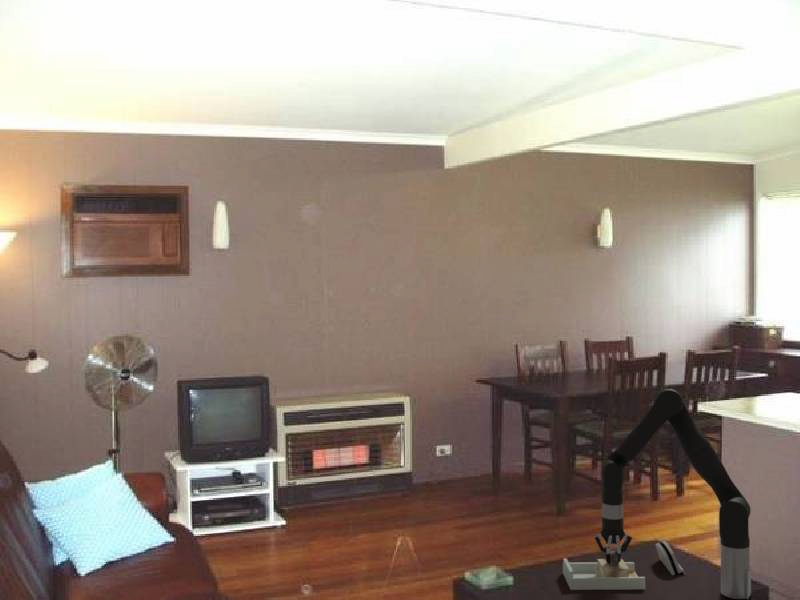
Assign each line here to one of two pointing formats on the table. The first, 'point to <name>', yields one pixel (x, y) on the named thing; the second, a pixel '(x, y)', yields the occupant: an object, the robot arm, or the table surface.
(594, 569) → the bay
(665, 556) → the hinge
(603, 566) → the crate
